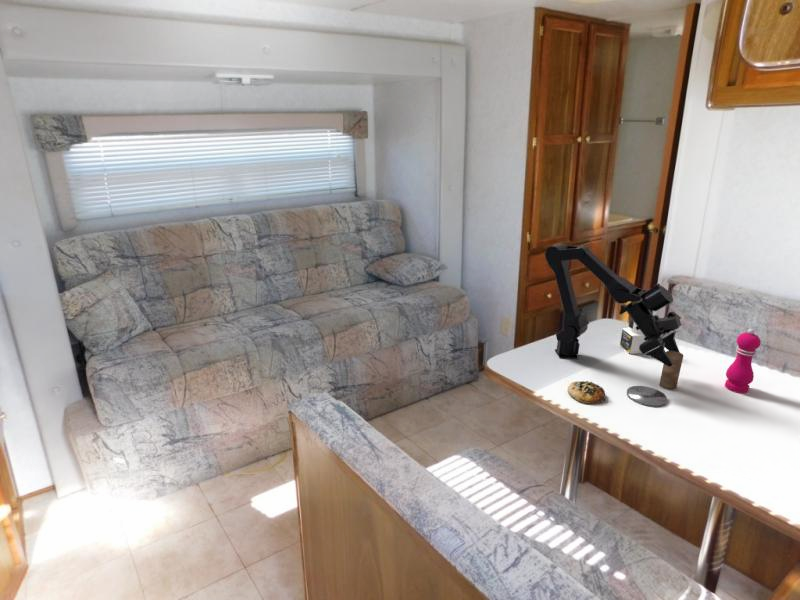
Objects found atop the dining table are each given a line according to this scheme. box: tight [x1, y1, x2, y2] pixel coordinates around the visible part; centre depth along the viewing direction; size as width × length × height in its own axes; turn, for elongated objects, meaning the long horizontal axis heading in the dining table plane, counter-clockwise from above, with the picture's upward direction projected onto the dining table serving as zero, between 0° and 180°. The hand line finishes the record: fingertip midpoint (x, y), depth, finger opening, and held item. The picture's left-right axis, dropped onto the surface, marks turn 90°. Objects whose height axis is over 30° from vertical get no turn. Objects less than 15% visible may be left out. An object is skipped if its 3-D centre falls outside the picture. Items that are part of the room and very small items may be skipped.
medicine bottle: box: [619, 317, 645, 355], centre depth 188 cm, size 7×7×12 cm
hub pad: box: [626, 385, 668, 408], centre depth 158 cm, size 11×11×1 cm
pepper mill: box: [724, 328, 761, 394], centre depth 161 cm, size 7×7×20 cm
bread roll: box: [567, 380, 606, 405], centre depth 158 cm, size 11×11×5 cm
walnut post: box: [658, 350, 684, 391], centre depth 163 cm, size 5×5×11 cm
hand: (675, 361), depth 162 cm, fingers open, 9 cm apart
